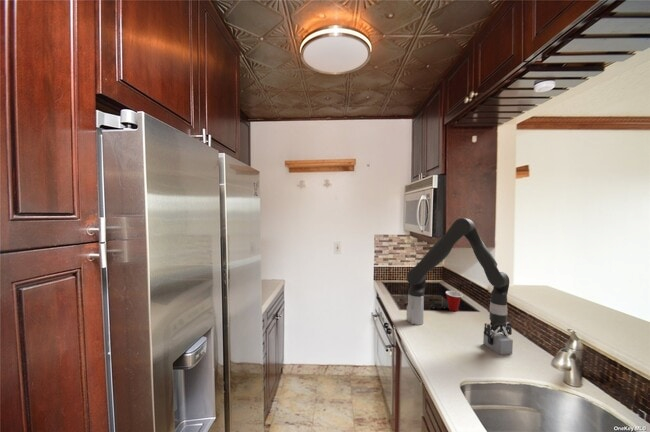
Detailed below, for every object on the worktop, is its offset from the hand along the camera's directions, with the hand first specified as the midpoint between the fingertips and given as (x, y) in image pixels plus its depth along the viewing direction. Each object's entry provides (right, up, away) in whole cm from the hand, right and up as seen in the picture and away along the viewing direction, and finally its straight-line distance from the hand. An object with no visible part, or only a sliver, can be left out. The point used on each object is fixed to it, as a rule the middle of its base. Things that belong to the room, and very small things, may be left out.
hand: (497, 343), depth 134 cm
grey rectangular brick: (0, -3, 0) cm, 3 cm away
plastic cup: (+3, -2, +53) cm, 53 cm away
